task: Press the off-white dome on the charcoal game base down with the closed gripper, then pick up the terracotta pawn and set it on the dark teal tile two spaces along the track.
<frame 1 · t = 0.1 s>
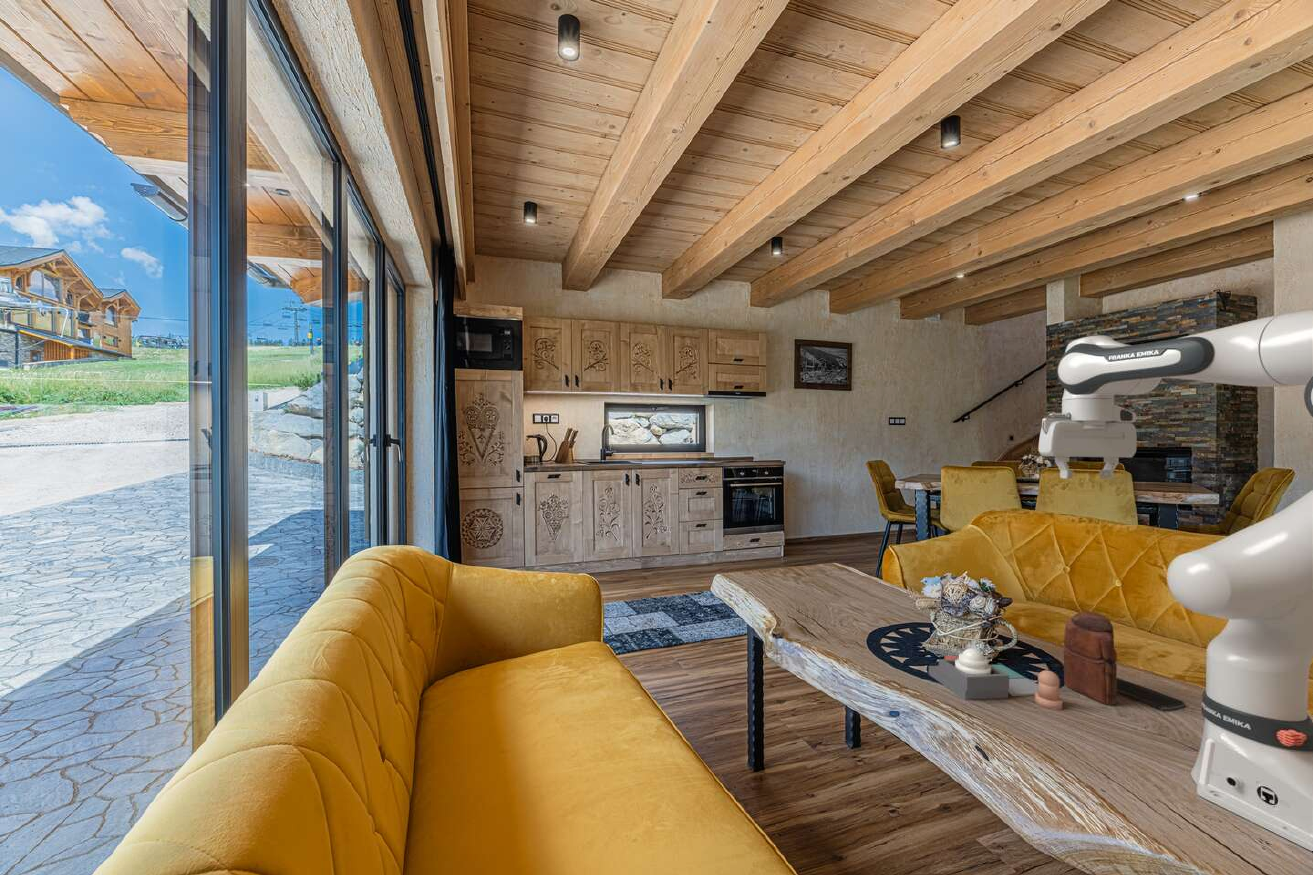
hand: (1086, 478, 120), 48 cm above the table, tool pointing down, fingers open, 8 cm apart
dome base: (966, 685, 127), on the table
phone: (1135, 696, 125), on the table
brown leather bag: (1091, 694, 124), on the table
pawn: (1048, 704, 119), on the table
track: (1006, 680, 131), on the table
dome: (972, 689, 125), resting on dome base, slide at 0.0 cm
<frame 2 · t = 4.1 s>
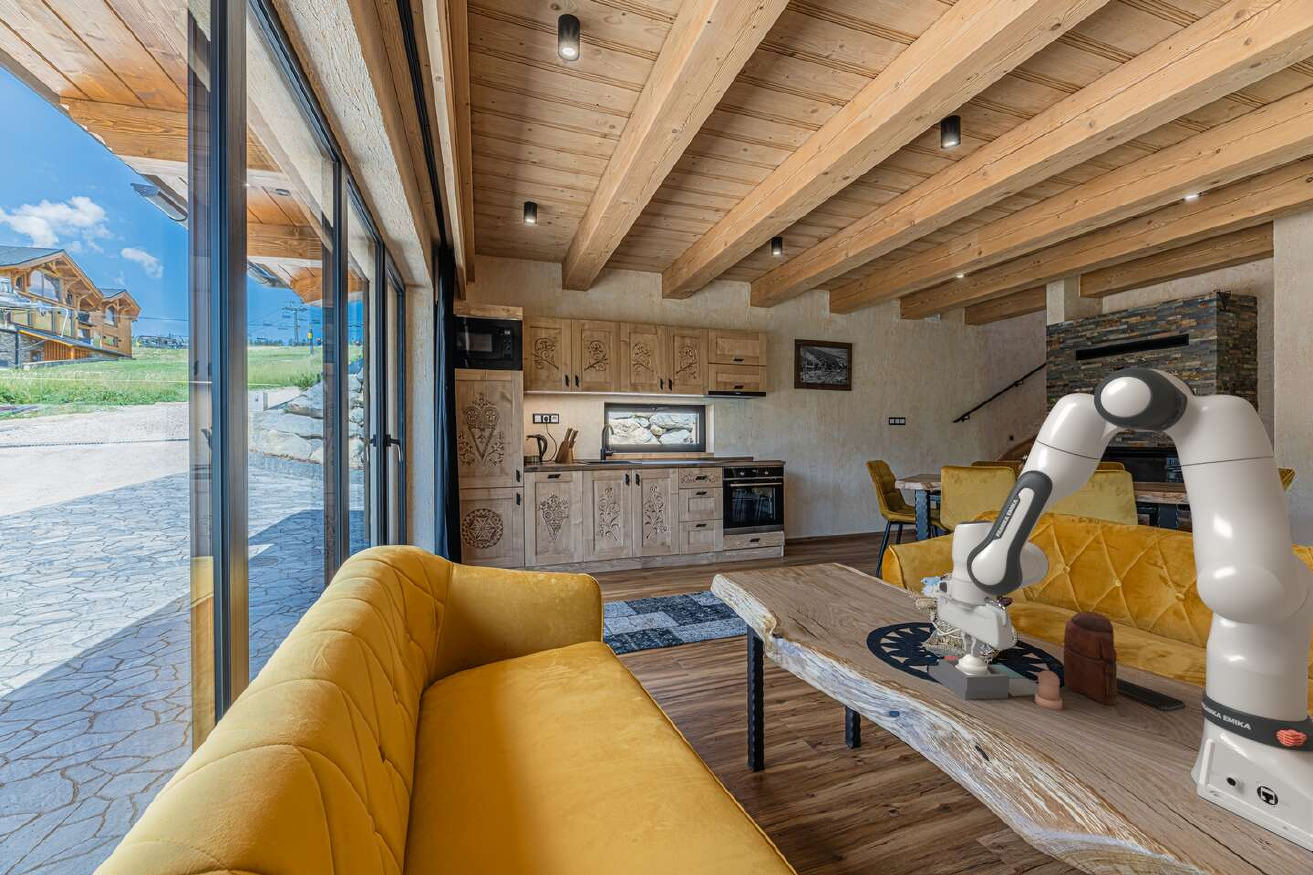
hand: (972, 653, 126), 8 cm above the table, tool pointing down, fingers closed
dome: (972, 694, 125), resting on dome base, slide at 1.2 cm, touching gripper
everything else where it was.
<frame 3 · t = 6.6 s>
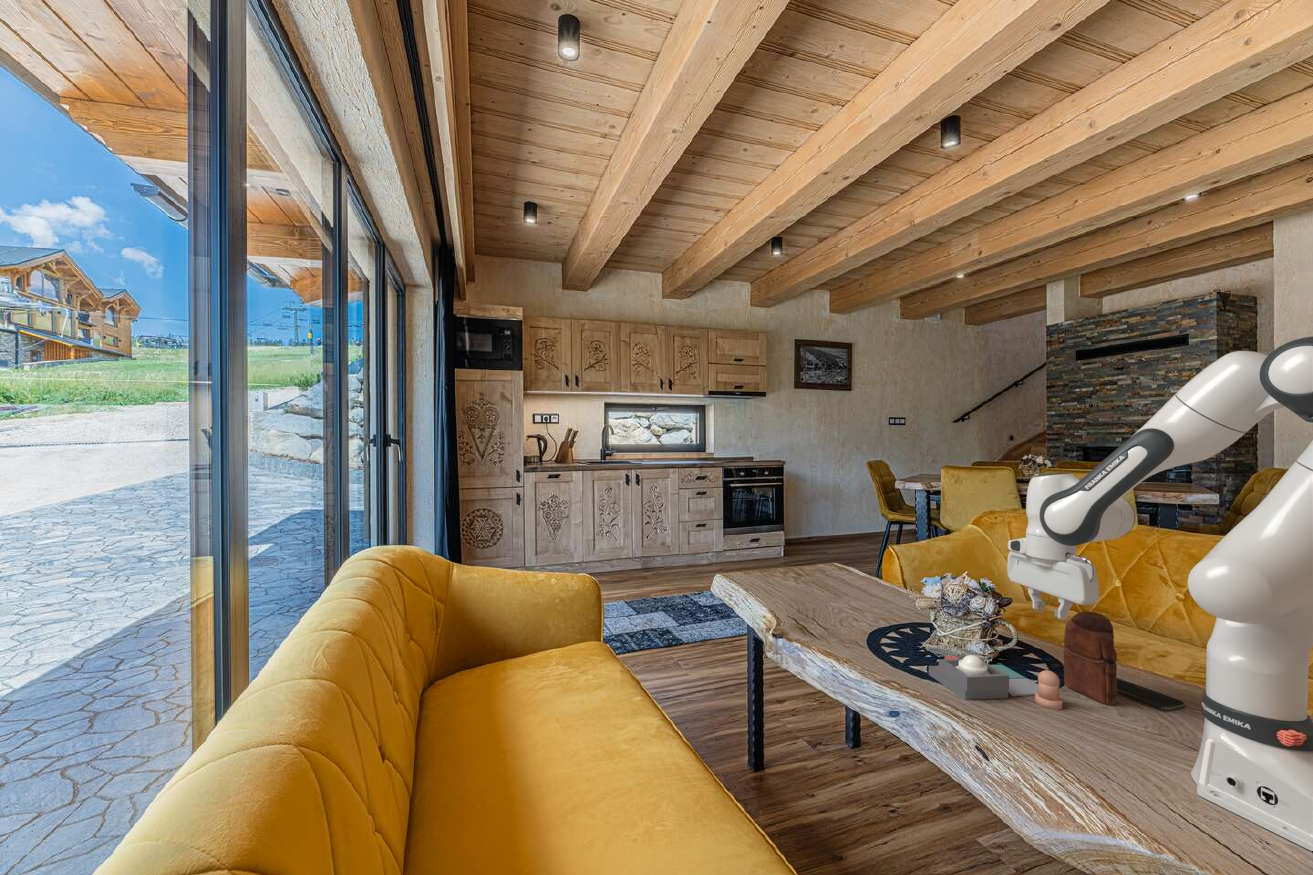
hand: (1049, 614, 119), 19 cm above the table, tool pointing down, fingers open, 4 cm apart
dome: (972, 696, 125), resting on dome base, slide at 1.5 cm
everything else where it was.
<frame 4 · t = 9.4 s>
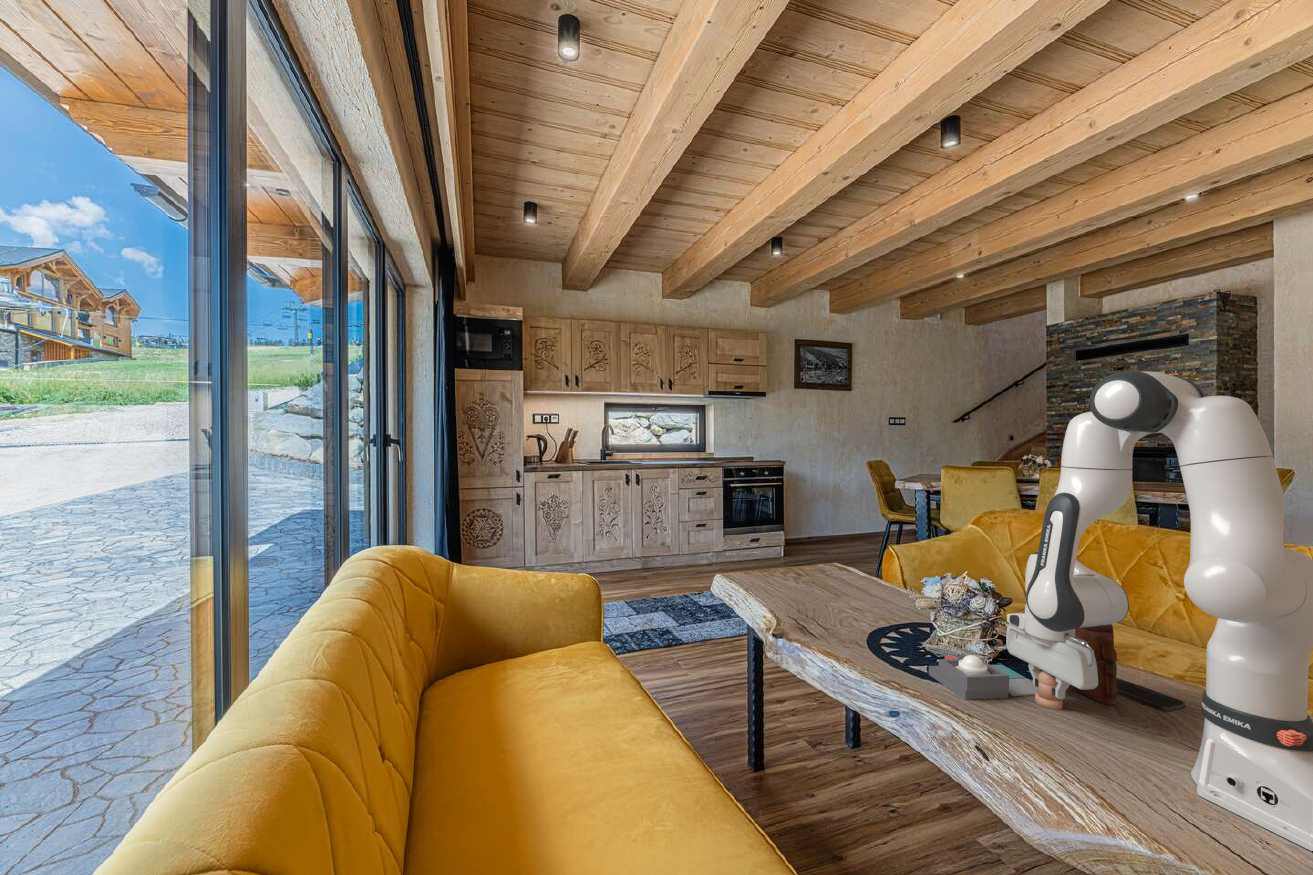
hand: (1048, 692, 119), 3 cm above the table, tool pointing down, fingers closed on pawn, 4 cm apart
pawn: (1048, 704, 119), on the table, touching gripper
everything else where it was.
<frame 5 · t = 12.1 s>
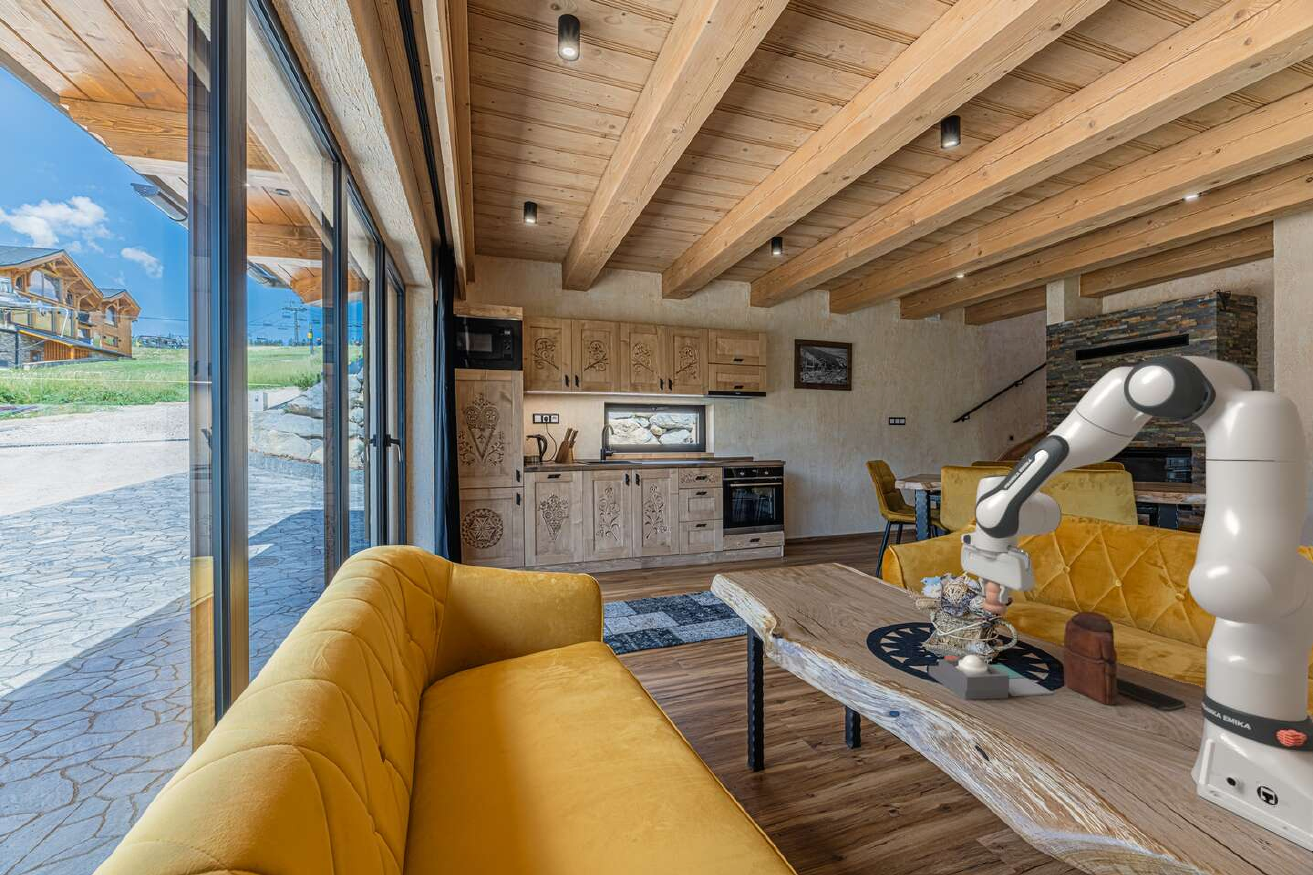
hand: (994, 599, 135), 18 cm above the table, tool pointing down, fingers closed on pawn, 4 cm apart
pawn: (994, 610, 135), point 15 cm above the table, touching gripper
everything else where it was.
when the fingers open (4 cm above the table, at t = 14.8 s): pawn drops 1 cm, resting on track.
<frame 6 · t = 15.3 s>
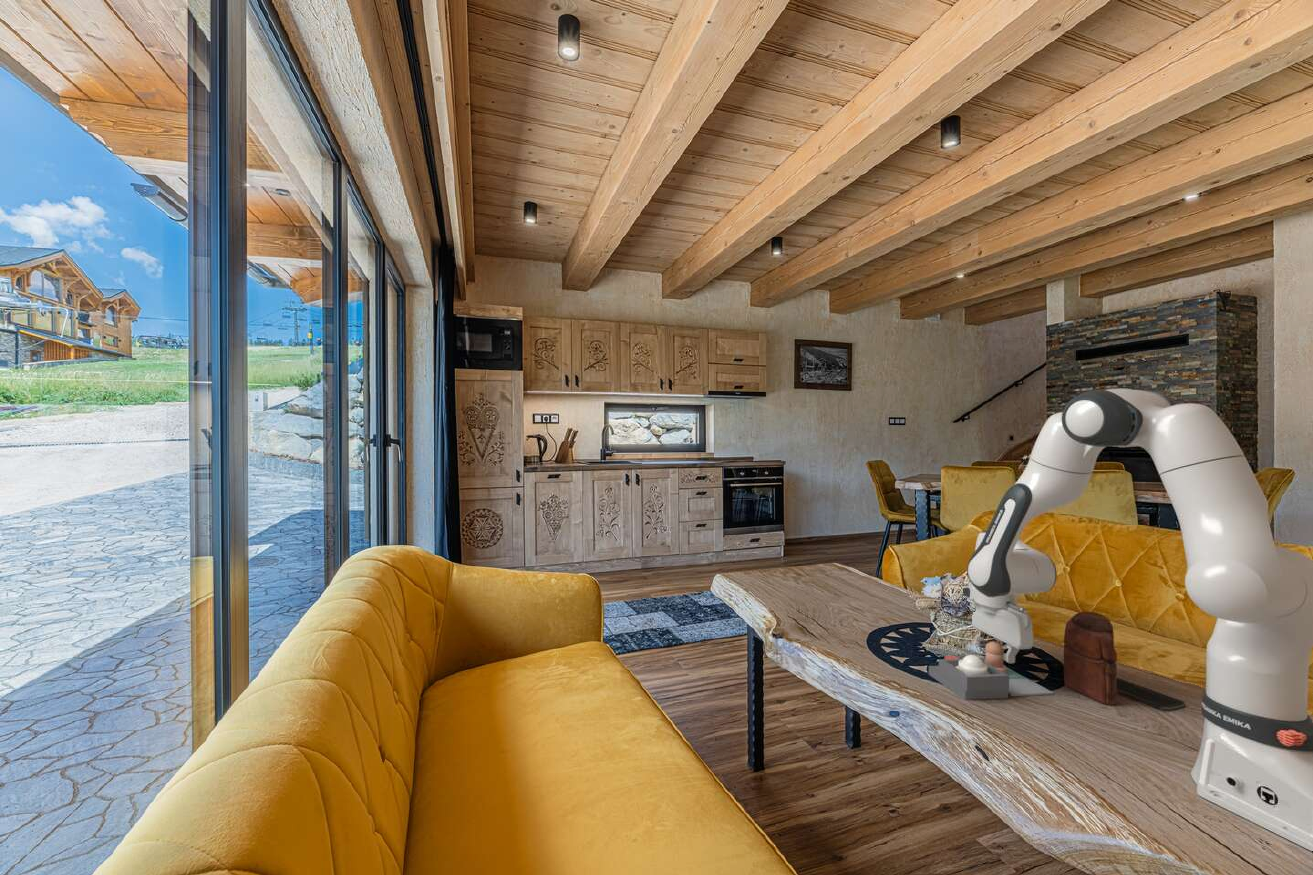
hand: (994, 654, 135), 4 cm above the table, tool pointing down, fingers open, 8 cm apart
pawn: (994, 671, 135), resting on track
everything else where it was.
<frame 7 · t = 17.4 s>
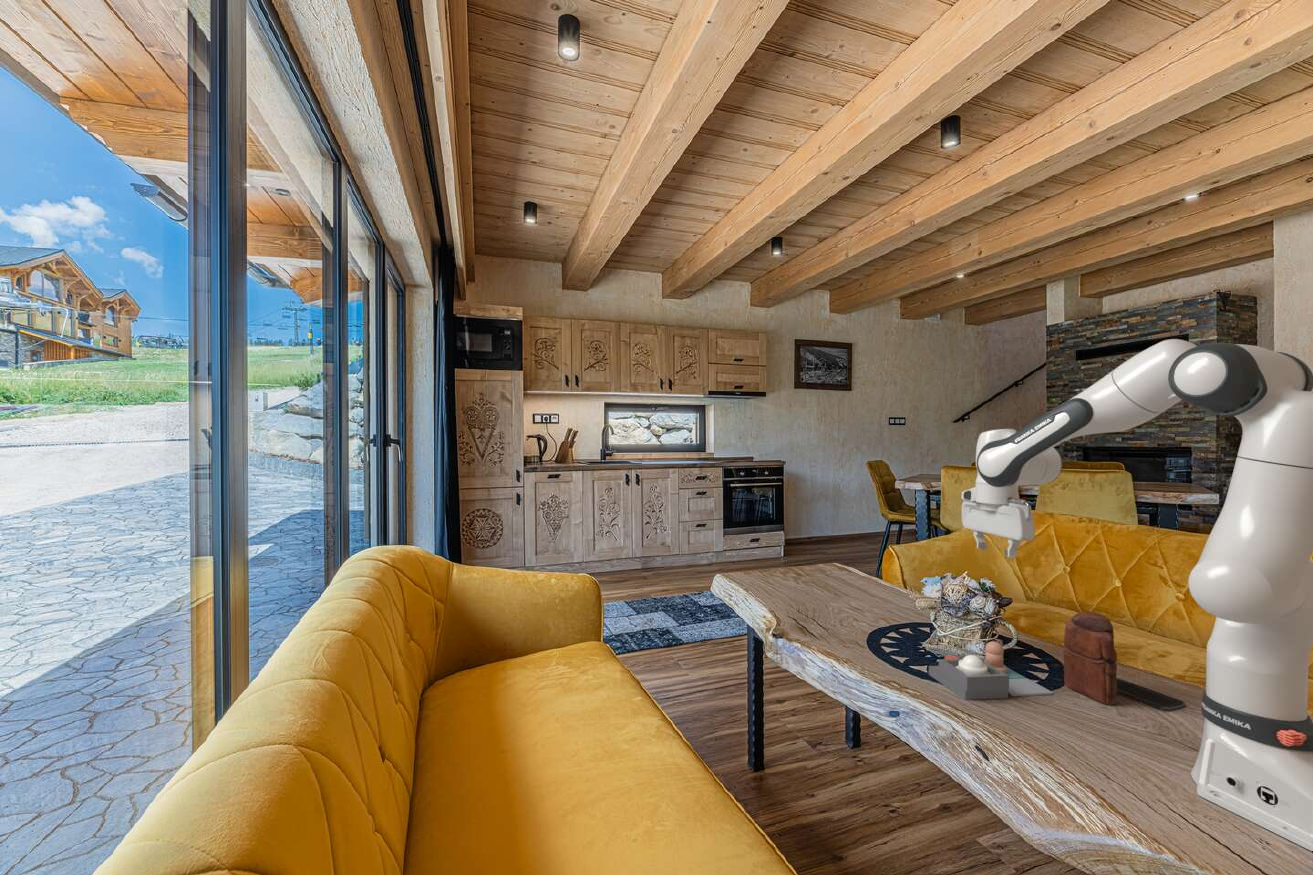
hand: (995, 553, 135), 29 cm above the table, tool pointing down, fingers open, 8 cm apart
nothing on the table moved.
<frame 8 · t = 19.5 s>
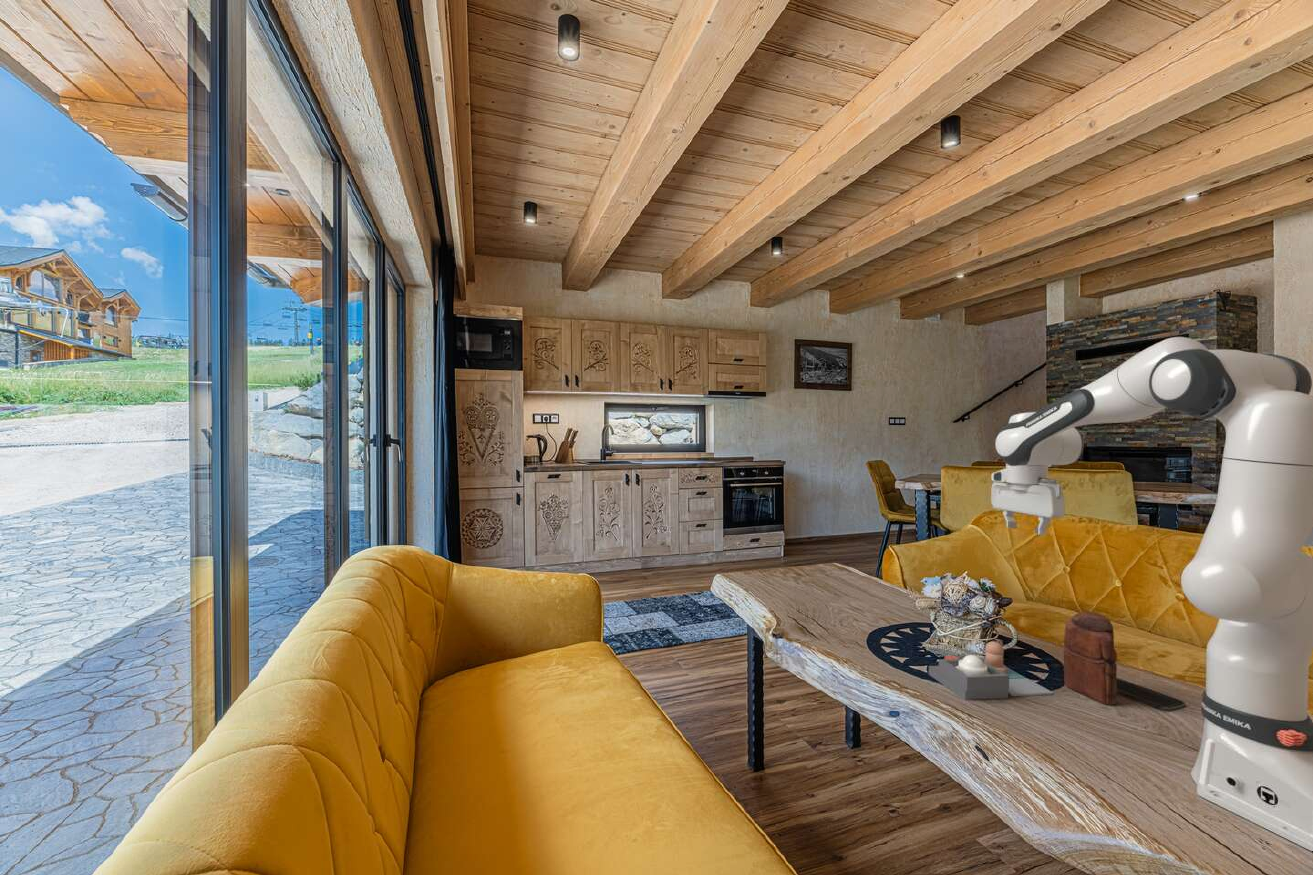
hand: (1025, 531, 141), 33 cm above the table, tool pointing down, fingers open, 8 cm apart
nothing on the table moved.
at the end: dome slide at 1.5 cm; pawn inside the target area (0.0 cm from its centre), resting on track; pawn tilted 0° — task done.
